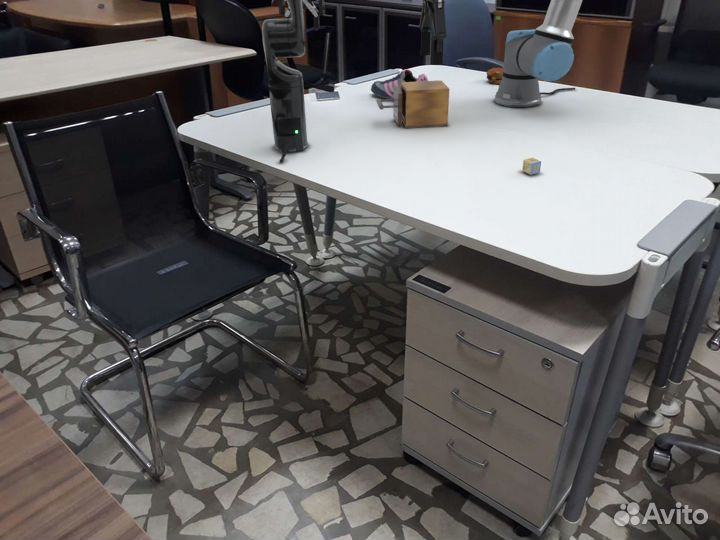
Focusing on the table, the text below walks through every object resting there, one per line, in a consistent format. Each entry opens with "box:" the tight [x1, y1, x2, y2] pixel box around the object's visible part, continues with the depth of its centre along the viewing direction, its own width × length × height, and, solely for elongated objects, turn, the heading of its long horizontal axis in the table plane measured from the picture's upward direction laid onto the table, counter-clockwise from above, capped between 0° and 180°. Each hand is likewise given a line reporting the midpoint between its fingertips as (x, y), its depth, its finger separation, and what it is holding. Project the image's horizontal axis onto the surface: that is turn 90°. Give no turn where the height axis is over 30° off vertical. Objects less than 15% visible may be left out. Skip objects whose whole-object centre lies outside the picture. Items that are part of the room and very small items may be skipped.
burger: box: [486, 67, 504, 85], centre depth 219 cm, size 10×9×5 cm
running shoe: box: [370, 69, 429, 100], centre depth 198 cm, size 9×26×11 cm, turn 44°
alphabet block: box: [522, 157, 542, 175], centre depth 139 cm, size 3×3×3 cm
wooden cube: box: [401, 80, 450, 129], centre depth 175 cm, size 13×11×11 cm
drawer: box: [375, 86, 406, 126], centre depth 174 cm, size 17×10×9 cm, turn 96°
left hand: (303, 29), depth 179 cm, fingers open, 8 cm apart
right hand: (431, 59), depth 166 cm, fingers open, 13 cm apart
